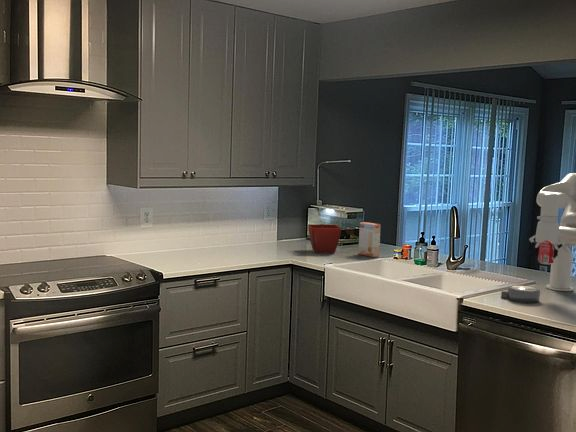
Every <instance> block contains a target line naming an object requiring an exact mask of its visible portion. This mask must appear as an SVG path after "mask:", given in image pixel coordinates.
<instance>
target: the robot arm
mask: <svg viewBox="0 0 576 432" xmlns="http://www.w3.org/2000/svg"><path fill="white" fill-rule="evenodd" d="M536 204H537V205H538V206H539V207H540V215H539V216H536V219H537V220H538V222H537V225H536V231H535V234H534V235H533V236H531V237H530V238H528V241H529V242H530V243H531V245H533V246H534V248H535V251H534V254H535V255H536V257H538V252H539V244H540V243H542V242H543V241H545V239H548V240H547V241H549V242H551V244H554V246H555V250H554V262H553V263H552V264H550V275H549V283H548V284H546V285H545V287H546V288H547V289H548V290H552V291H558V292H572V291H574V287H573V286H571V278H572V266H573V264H572V263H573V253H572V251H571V249H570V247H572V248H576V172H573V173H572V172H571V173H567V174H566V175H565V176H564V177H563V178H562V179H561V181H559V182H556V183H553V184H550V185H547V186H544V187H543V188H542V189H540V191H538V193H537V196H536ZM559 209H564V211H563V213H562V216H561V218H560V224H559V222H558V221H559V220H558V217H559ZM534 239H535V240H534Z"/></svg>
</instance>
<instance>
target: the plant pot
mask: <svg viewBox="0 0 576 432" xmlns="http://www.w3.org/2000/svg"><path fill="white" fill-rule="evenodd" d="M307 227H308V236H309V239H310V240H309V241H310V245H311V248H312V251H313V252H314V253H317V254H318V253H319V254H321V253H324V254H335V253H336V250H337V247H338V244H339V240H340V237H341V234H342V233H341V232H342V227H341V226H339V225H337V224H308V226H307Z"/></svg>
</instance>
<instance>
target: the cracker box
mask: <svg viewBox="0 0 576 432" xmlns="http://www.w3.org/2000/svg"><path fill="white" fill-rule="evenodd" d="M358 235H359V236H358V252H357V254H358V255H361V256H365V257H370V258H379V257H380V245H381V224H380V223H373V222H368V221H367V222H366V221H364V222H363V221H362V222H361V221H360V222H359V233H358Z"/></svg>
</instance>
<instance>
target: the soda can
mask: <svg viewBox="0 0 576 432" xmlns="http://www.w3.org/2000/svg"><path fill="white" fill-rule="evenodd" d="M547 240H548V239H545V241H543V242H542V243H540V244H539V252H538V256H537V261H538V263H539V264H541V265H551V264H552V263H553V262H554V250H555V246H554V244H551V242H549V241H547Z"/></svg>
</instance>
